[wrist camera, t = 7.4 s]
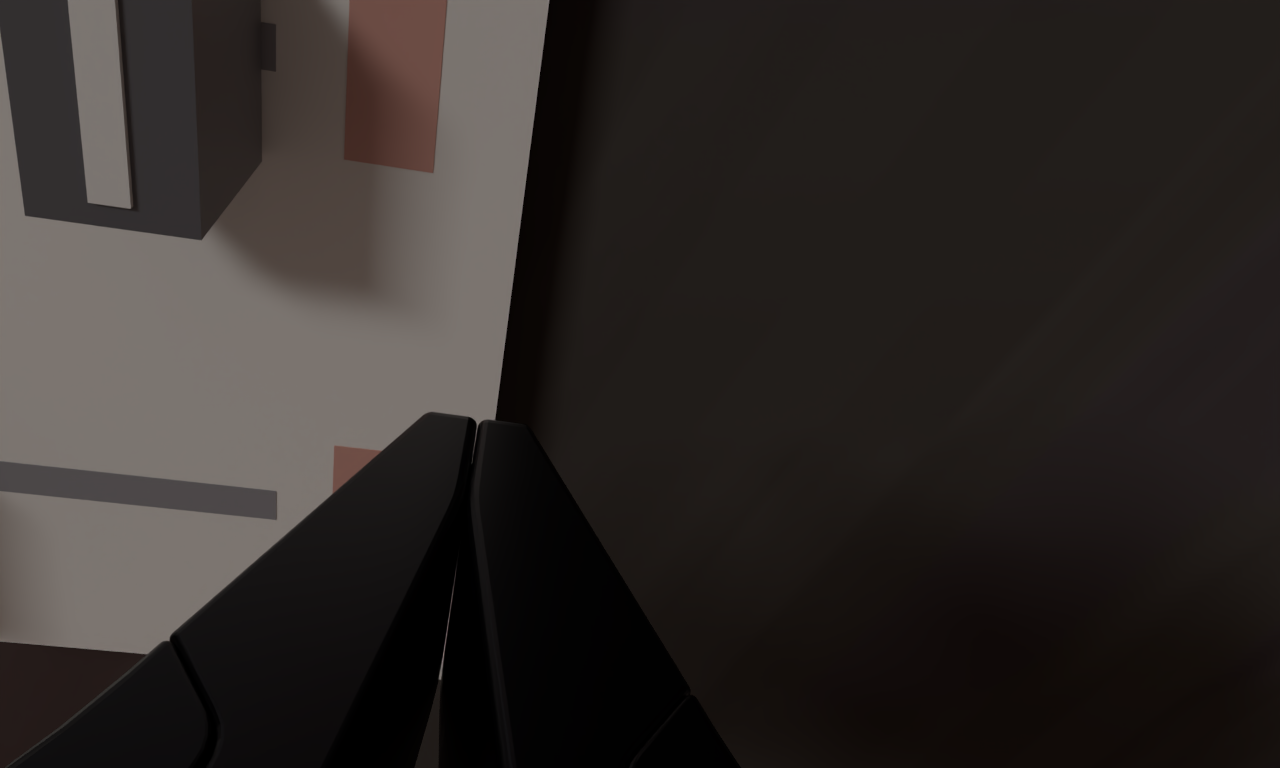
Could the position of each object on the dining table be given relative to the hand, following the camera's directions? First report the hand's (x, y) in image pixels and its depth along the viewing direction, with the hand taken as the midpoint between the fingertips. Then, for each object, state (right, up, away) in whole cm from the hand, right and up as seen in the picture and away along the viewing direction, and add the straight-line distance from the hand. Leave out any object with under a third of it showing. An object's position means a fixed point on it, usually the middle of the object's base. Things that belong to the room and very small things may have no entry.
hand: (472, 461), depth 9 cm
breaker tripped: (-6, +6, +9) cm, 13 cm away
